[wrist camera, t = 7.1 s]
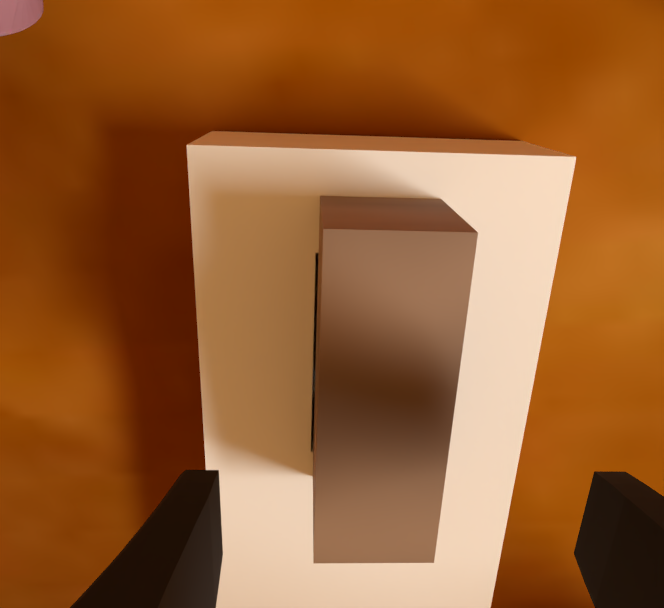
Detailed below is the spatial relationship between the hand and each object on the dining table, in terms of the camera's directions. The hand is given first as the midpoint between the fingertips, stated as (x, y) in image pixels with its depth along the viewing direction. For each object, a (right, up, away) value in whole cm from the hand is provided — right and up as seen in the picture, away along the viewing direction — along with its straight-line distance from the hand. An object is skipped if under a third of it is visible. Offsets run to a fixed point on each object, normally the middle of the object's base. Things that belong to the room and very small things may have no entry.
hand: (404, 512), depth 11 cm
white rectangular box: (-1, +1, +11) cm, 11 cm away
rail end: (0, +4, +8) cm, 9 cm away
